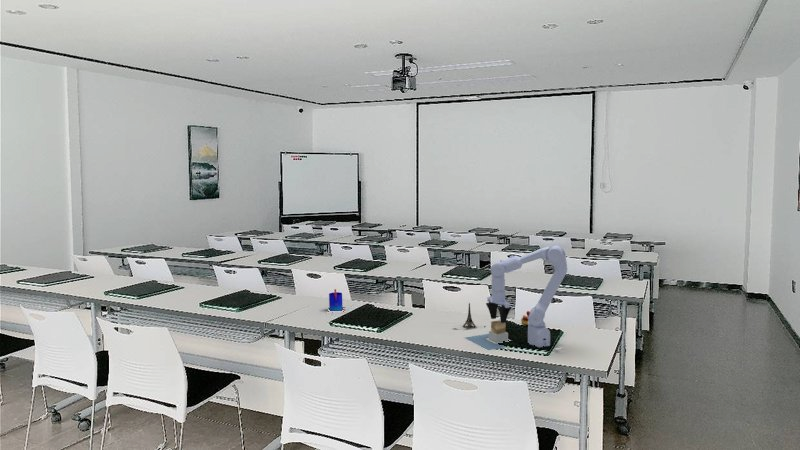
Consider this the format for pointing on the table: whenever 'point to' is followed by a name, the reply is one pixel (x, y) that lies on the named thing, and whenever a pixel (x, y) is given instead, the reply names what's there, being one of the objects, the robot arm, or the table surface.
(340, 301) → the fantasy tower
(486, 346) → the board
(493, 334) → the base block
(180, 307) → the table surface
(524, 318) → the small brown rounded figure
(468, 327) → the eiffel tower figurine
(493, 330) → the wooden cube
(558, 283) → the robot arm
